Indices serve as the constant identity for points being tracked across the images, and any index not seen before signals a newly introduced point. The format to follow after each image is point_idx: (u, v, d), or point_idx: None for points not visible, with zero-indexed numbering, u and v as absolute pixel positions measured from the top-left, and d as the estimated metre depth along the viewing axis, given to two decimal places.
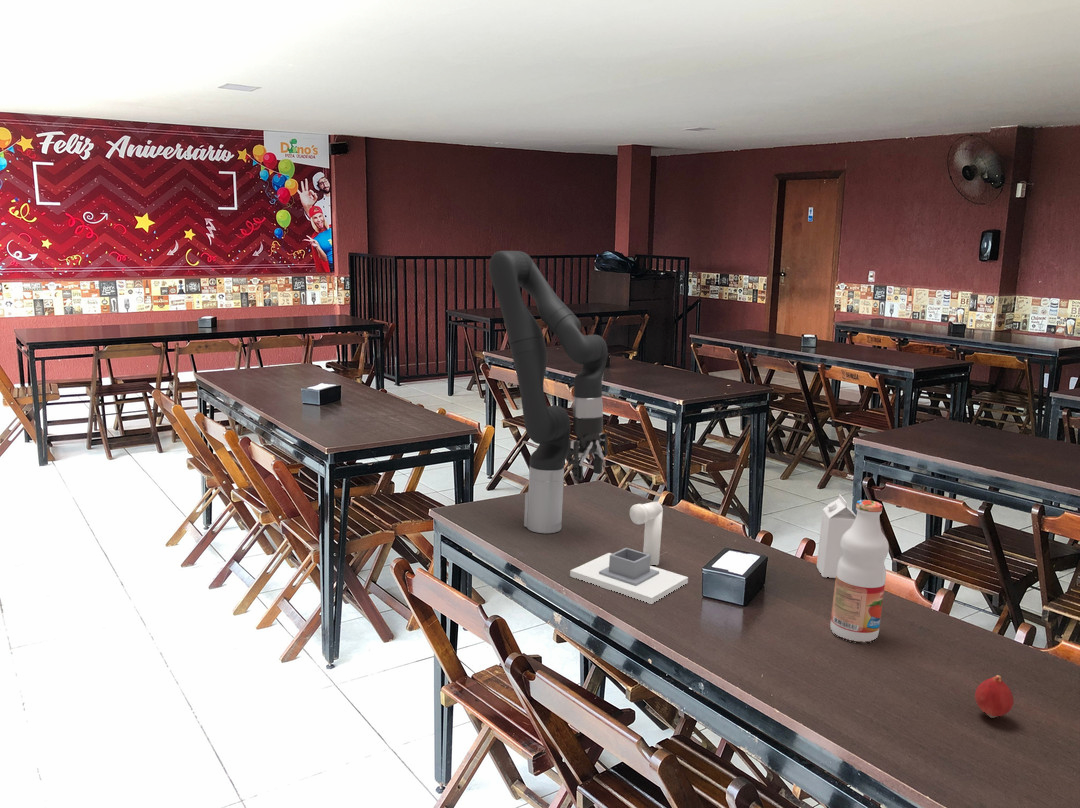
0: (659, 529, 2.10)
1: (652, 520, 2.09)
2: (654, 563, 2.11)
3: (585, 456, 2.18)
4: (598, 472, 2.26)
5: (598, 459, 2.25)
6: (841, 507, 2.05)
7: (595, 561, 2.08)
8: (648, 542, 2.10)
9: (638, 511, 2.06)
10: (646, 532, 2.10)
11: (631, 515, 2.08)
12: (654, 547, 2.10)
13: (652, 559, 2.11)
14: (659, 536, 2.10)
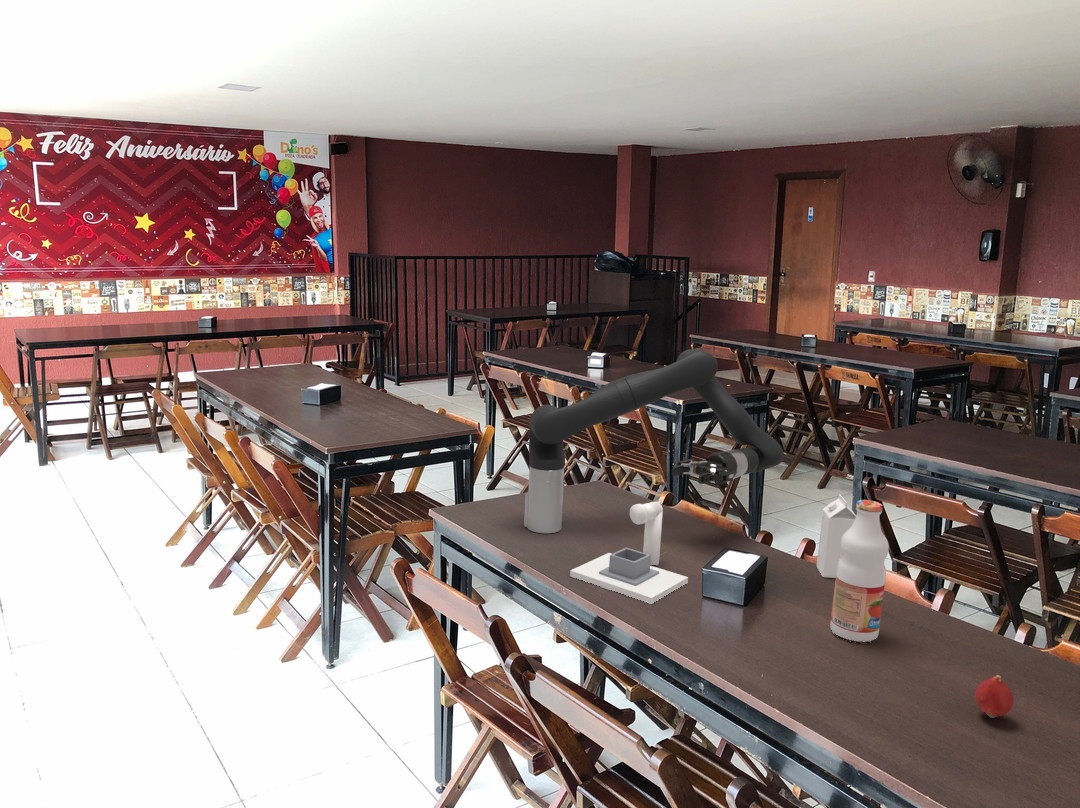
0: (659, 529, 2.10)
1: (652, 520, 2.09)
2: (654, 563, 2.11)
3: None
4: (674, 473, 2.19)
5: (683, 471, 2.21)
6: (841, 507, 2.05)
7: (595, 561, 2.08)
8: (648, 542, 2.10)
9: (638, 511, 2.06)
10: (646, 532, 2.10)
11: (631, 515, 2.08)
12: (654, 547, 2.10)
13: (652, 559, 2.11)
14: (659, 536, 2.10)
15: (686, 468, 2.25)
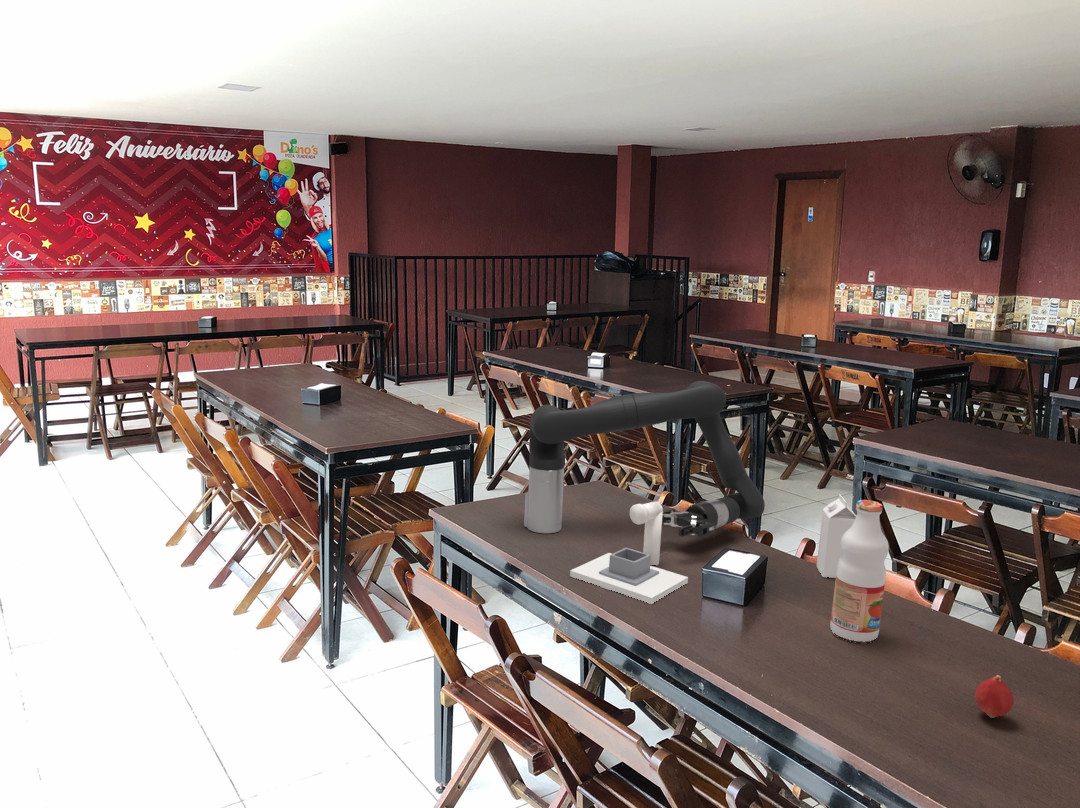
0: (659, 529, 2.10)
1: (652, 520, 2.09)
2: (654, 563, 2.11)
3: None
4: None
5: (663, 521, 2.20)
6: (841, 507, 2.05)
7: (595, 561, 2.08)
8: (648, 542, 2.10)
9: (638, 511, 2.06)
10: (646, 532, 2.10)
11: (631, 515, 2.08)
12: (654, 547, 2.10)
13: (652, 559, 2.11)
14: (659, 536, 2.10)
15: (667, 518, 2.24)
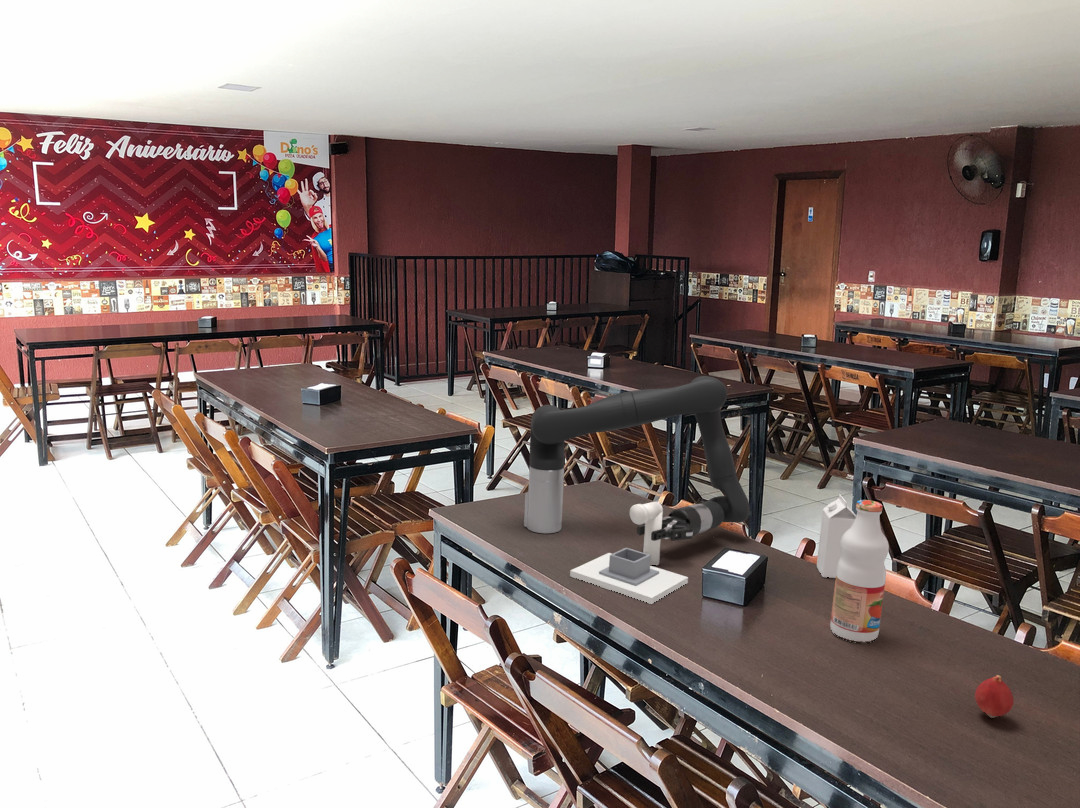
0: (659, 529, 2.10)
1: (652, 520, 2.09)
2: (654, 563, 2.11)
3: None
4: (640, 533, 2.11)
5: None
6: (841, 507, 2.05)
7: (595, 561, 2.08)
8: (648, 542, 2.10)
9: (638, 511, 2.06)
10: (646, 532, 2.10)
11: (631, 515, 2.07)
12: (654, 547, 2.10)
13: (652, 559, 2.11)
14: None
15: None
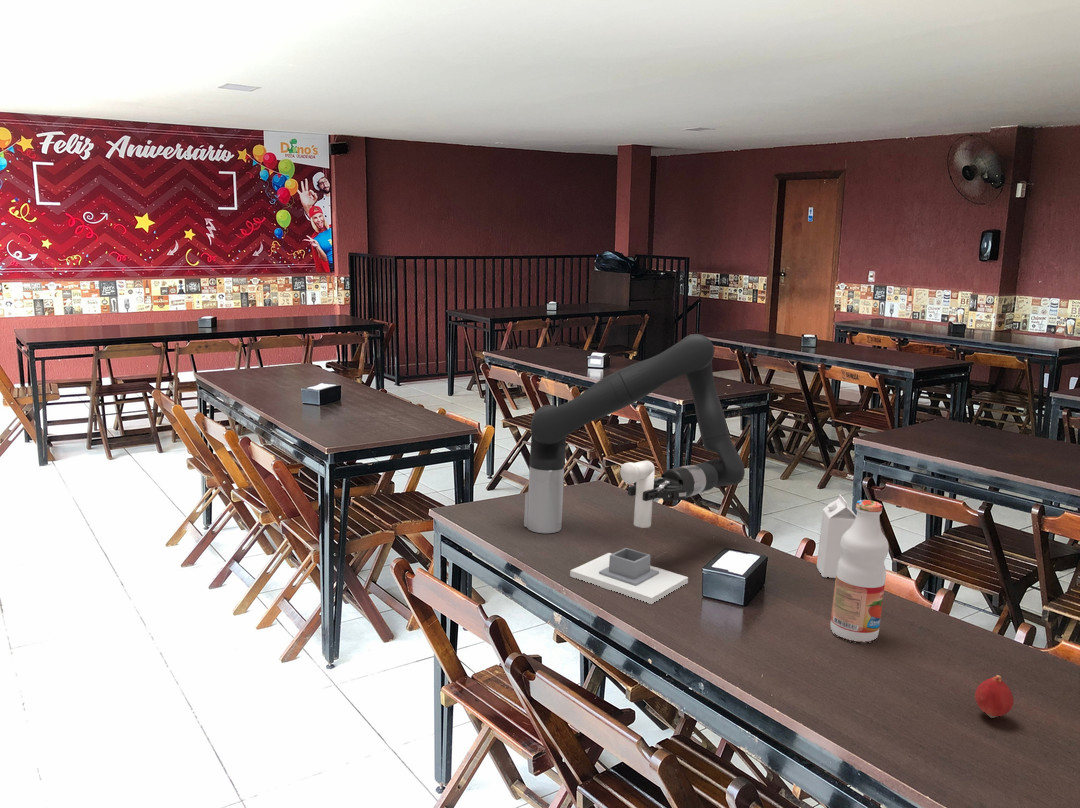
0: (651, 489, 2.01)
1: (644, 479, 2.00)
2: (645, 525, 2.02)
3: (661, 498, 2.04)
4: (631, 493, 2.02)
5: None
6: (841, 507, 2.05)
7: (595, 561, 2.08)
8: (640, 503, 2.01)
9: (629, 470, 1.97)
10: (637, 492, 2.01)
11: (622, 474, 1.99)
12: (645, 508, 2.01)
13: (644, 521, 2.02)
14: None
15: None
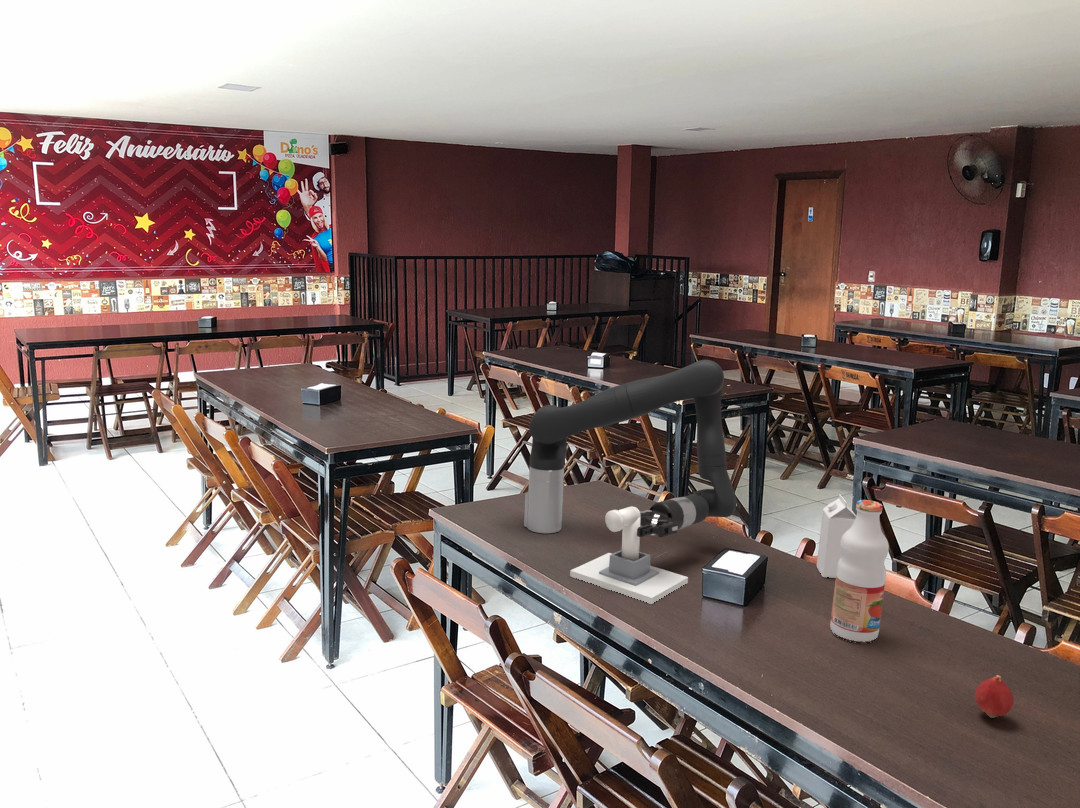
0: None
1: (629, 526, 1.97)
2: None
3: None
4: None
5: None
6: (841, 507, 2.05)
7: (595, 561, 2.08)
8: (626, 549, 1.99)
9: (614, 518, 1.94)
10: (624, 539, 1.99)
11: (607, 522, 1.96)
12: (632, 555, 1.98)
13: None
14: (637, 543, 1.99)
15: None
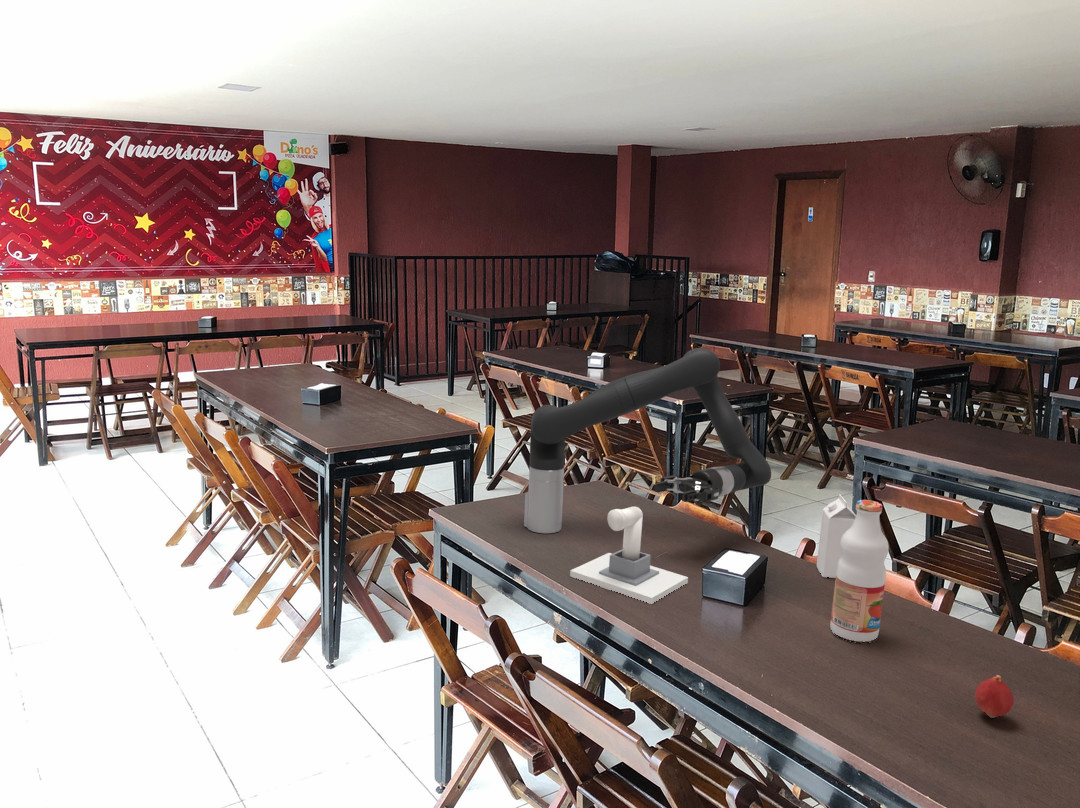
0: (639, 536, 1.98)
1: (631, 526, 1.97)
2: None
3: None
4: (657, 490, 2.10)
5: (666, 487, 2.12)
6: (841, 507, 2.05)
7: (595, 561, 2.08)
8: (627, 549, 1.99)
9: (616, 517, 1.94)
10: (625, 539, 1.99)
11: (609, 521, 1.96)
12: (633, 555, 1.99)
13: None
14: (639, 543, 1.99)
15: (670, 484, 2.16)
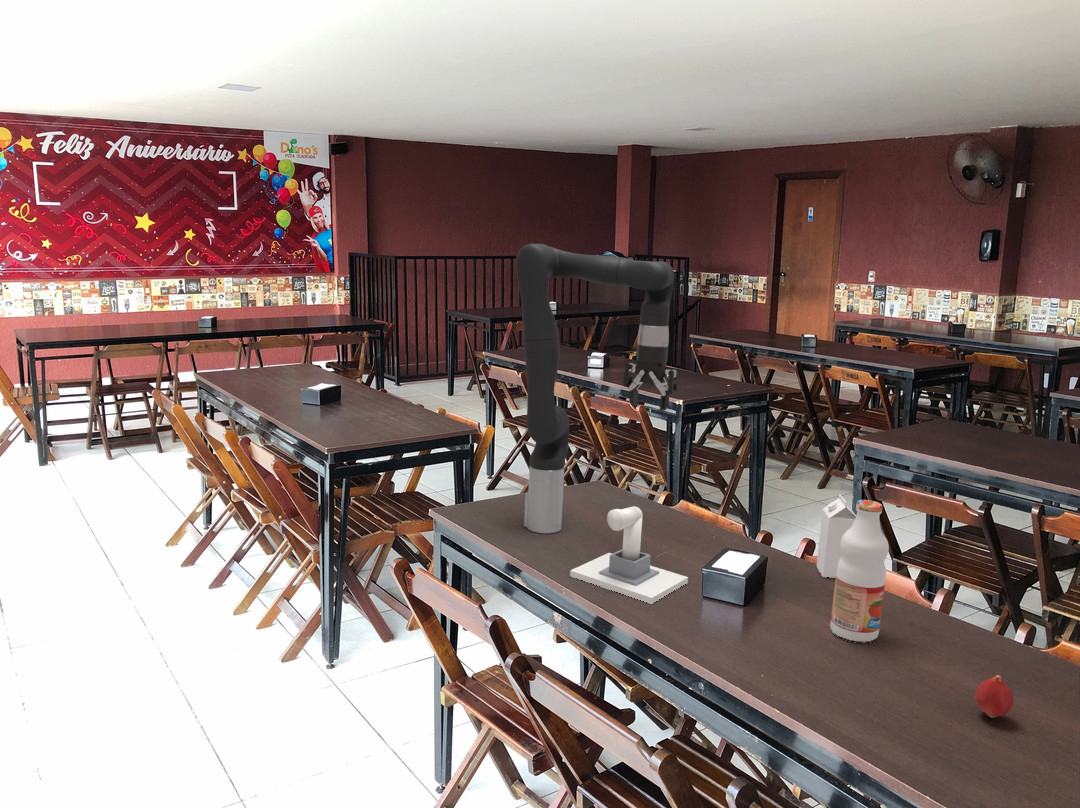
0: (638, 536, 1.98)
1: (631, 526, 1.97)
2: None
3: None
4: (636, 403, 2.21)
5: (636, 390, 2.20)
6: (841, 507, 2.05)
7: (595, 561, 2.08)
8: (627, 549, 1.99)
9: (616, 517, 1.94)
10: (625, 539, 1.99)
11: (609, 521, 1.96)
12: (633, 555, 1.99)
13: None
14: (638, 543, 1.99)
15: (632, 375, 2.21)
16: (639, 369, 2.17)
